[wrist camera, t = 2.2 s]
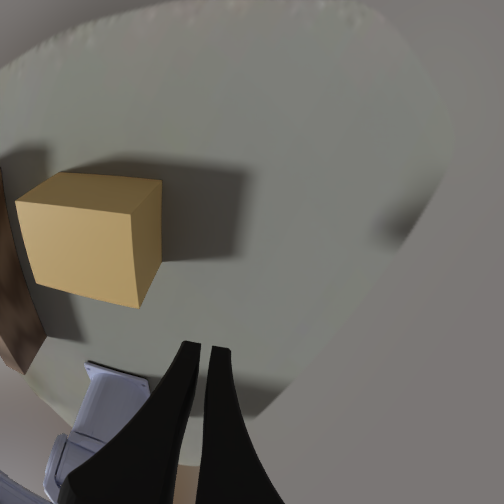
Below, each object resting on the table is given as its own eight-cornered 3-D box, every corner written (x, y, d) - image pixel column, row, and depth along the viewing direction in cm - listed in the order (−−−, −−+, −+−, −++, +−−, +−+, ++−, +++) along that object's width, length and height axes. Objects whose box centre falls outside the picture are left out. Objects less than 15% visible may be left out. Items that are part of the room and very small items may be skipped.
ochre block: (162, 260, 20) (139, 308, 16) (70, 244, 20) (36, 283, 15) (163, 179, 17) (130, 214, 13) (60, 171, 16) (15, 200, 12)
